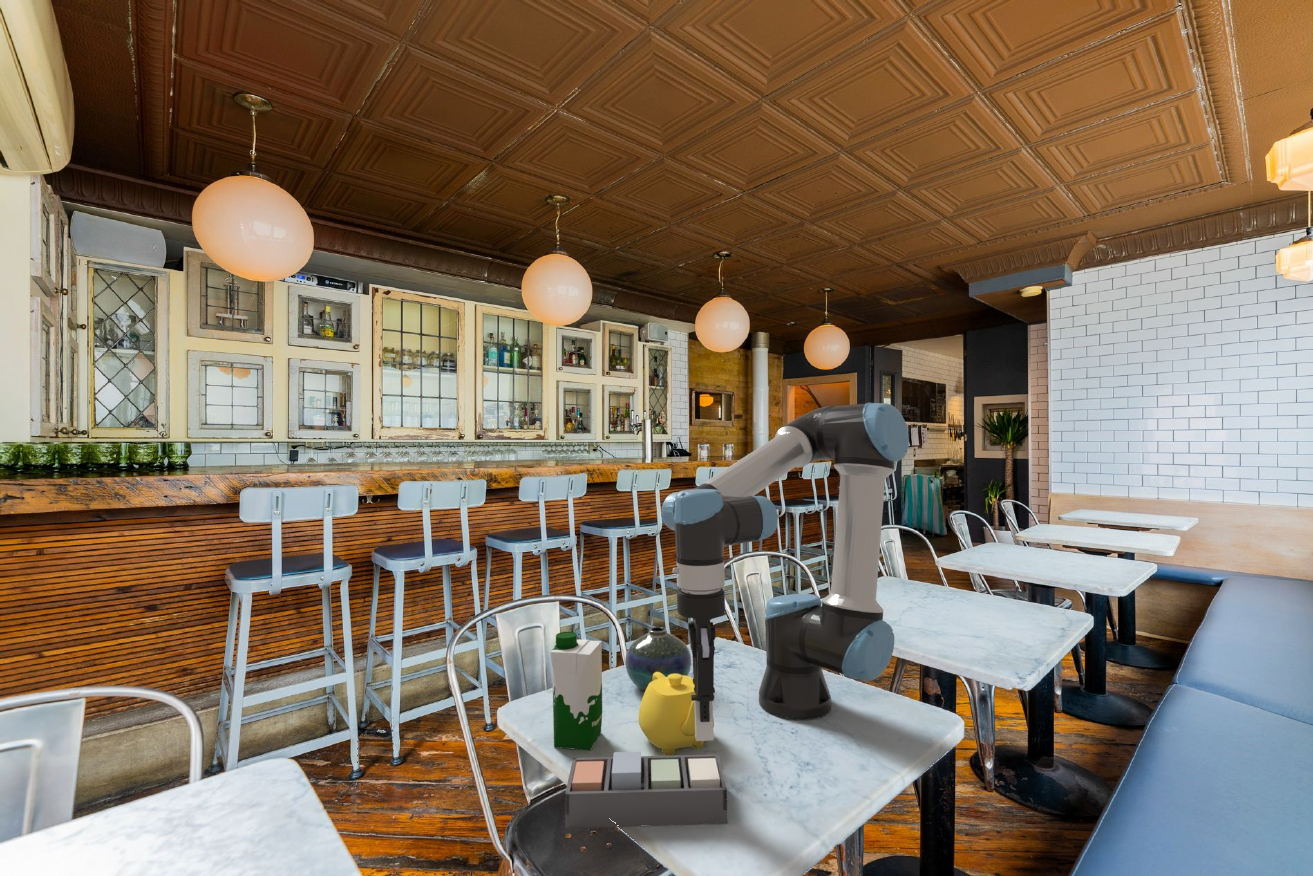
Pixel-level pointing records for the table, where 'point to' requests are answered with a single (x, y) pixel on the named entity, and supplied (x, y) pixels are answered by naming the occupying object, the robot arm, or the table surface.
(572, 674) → the milk carton
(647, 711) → the teapot
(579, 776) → the key
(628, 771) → the key
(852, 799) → the table surface
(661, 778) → the key
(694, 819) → the keypad base
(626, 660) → the vase
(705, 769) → the key
